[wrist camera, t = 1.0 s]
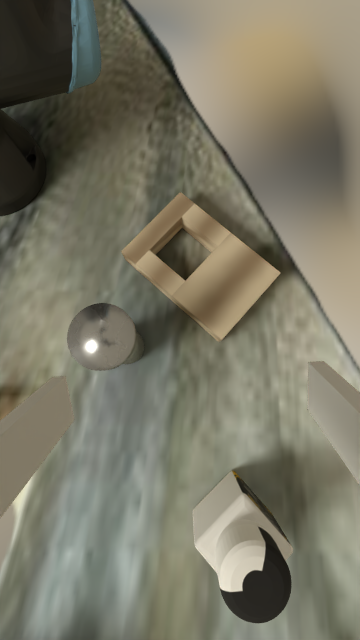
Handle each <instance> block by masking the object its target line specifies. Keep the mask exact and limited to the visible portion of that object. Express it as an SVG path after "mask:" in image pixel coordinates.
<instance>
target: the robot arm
mask: <svg viewBox="0 0 360 640" xmlns="http://www.w3.org/2000/svg"><path fill="white" fill-rule="evenodd" d="M100 71H101V51H100V42H99V35H98V28H97V21H96V15H95V10H94V4H93V0H0V216H3V215H7V214H10V213H13V212H15V211H17V210H19V209H21V208H23V207H24V206H26V205H27V204H28V203H29V202H30V201H31V200H32V199H33V198H34V197H35V196H36V195H37V194H38V192H39V191H40V189H41V187H42V185H43V182H44V179H45V175H46V162H45V158H44V155H43V153H42V151H41V149H40V148H39V146H38V145H37V143H36V141H35V140H34V138H33V137H32V136H31V135H30V134H29V133H28V132H27V131H26V130H25V129H24V128H23V127H22V126H20V125H19V124H18V123H17V122H16V121H14V120H13V119H12V118H11V117H9V116H8V115H7V114H6V113H5V112H3V111H2V110H1V108H5V107H9V106H13V105H17V104H21V103H25V102H29V101H33V100H37V99H41V98H45V97H49V96H53V95H57V94H61V93H65V92H66V93H71V92H73V90H74V89H77V88H80V87H83V86H86V85H89V84H92V83H93V82H95V81H96V79H97V77H98V76H99V74H100ZM307 410H308V411H309V413H310V414H311V416H312V417H313V418H314V420H315V421H316V423H317V424H318V426H319V427H320V429H321V430H322V432H323V433H324V434H325V436H326V437H327V439H328V440H329V442H330V443H331V445H332V446H333V447H334V449H335V450H336V452H337V453H338V455H339V456H340V458H341V459H342V460H343V462H344V463H345V465H346V466H347V468H348V469H349V471H350V472H351V473H352V475H353V476H354V478H355V479H356V481H357V482H358V484H359V485H360V392H359V391H357V390H356V389H355V388H354V387H353V386H352V385H350V384H349V383H348V382H347V381H346V380H345V379H344V378H342V377H341V376H340V375H339V374H338V373H337V372H336V371H334V370H333V369H332V368H331V367H330V366H329V365H327V364H326V363H325V362H324V361H318V362H308V405H307ZM73 421H74V415H73V410H72V405H71V400H70V395H69V390H68V385H67V380H66V376H59V377H52V378H51V379H49V380H48V381H47V382H46V383H45V384H44V385H42V386H41V387H40V388H39V389H38V390H36V391H35V392H34V393H33V394H32V395H30V396H29V397H28V398H27V399H26V400H25V401H23V402H22V403H21V404H20V405H19V406H17V407H16V408H15V409H14V410H13V411H11V412H10V413H9V414H8V415H7V416H5V417H4V418H3V419H2V420H1V421H0V518H1V517H2V515H3V514H4V513H5V512H6V510H7V509H8V508H9V506H10V505H11V504H12V502H13V501H14V500H15V498H16V497H17V496H18V494H19V493H20V492H21V490H22V489H23V488H24V486H25V485H26V484H27V482H28V481H29V480H30V478H31V477H32V476H33V474H34V473H35V472H36V470H37V469H38V468H39V466H40V465H41V464H42V462H43V461H44V460H45V458H46V457H47V456H48V454H49V453H50V452H51V450H52V449H53V448H54V446H55V445H56V444H57V442H58V441H59V440H60V438H61V437H62V436H63V434H64V433H65V432H66V430H67V429H68V428H69V426H70V425H71V424H72V422H73Z"/></svg>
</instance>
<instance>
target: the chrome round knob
mask: <svg viewBox="0 0 360 640" xmlns="http://www.w3.org/2000/svg"><path fill="white" fill-rule="evenodd" d="M67 342H68V347H69V350H70V353H71V355H72V356H73V358H74V359H75V360H76V361H77V362H78V363H79V364H80V365H82V366H84V367H86V368H88V369H91V370H111V369H114V368H117V367H119V366H120V365H122V364H132V363H134V362H136V361H137V360H139V359H140V358H141V356H142V354H143V352H144V341H143V338H142V337H141V335H140V334H139V333H137V331H136V327H135V325H134V322H133V321H132V319H131V318H130V316H129V315H128V314H127V313H126V312H125V311H123V310H122V309H121V308H119V307H117V306H115V305H112V304H107V303H99V304H94V305H91V306H88V307H86V308H84V309H83V310H82V311H80V312H79V313H78V314H77V315H76V316H75V318H74V319H73V320H72V322H71V324H70V327H69V330H68V336H67Z"/></svg>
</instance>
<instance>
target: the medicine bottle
mask: <svg viewBox="0 0 360 640" xmlns="http://www.w3.org/2000/svg"><path fill="white" fill-rule="evenodd" d="M193 525H194V540H195V547H196V548H197V549H198V551H199V552H200V553H201V554H202V556H203V557H204V558H205V559H206V560H207V562H208V563H209V564H210V565H211V567H212V568H213V569H214V570H215V571H216V573H217V574H218V579H219V585H220V590H221V594H222V596H223V599H224V601H225V603H226V605H227V606H228V607H229V609H230V610H231V611H232V612H233V613H234V614H235V615H236V616H238V617H239V618H241V619H243V620H245V621H247V622H252V623H264V622H268V621H270V620H272V619H274V618H275V617H277V616H278V615H279V614H280V613H281V612H282V610H283V609H284V608H285V606H286V604H287V602H288V600H289V597H290V593H291V575H290V571H289V568H288V565H287V563H286V561H285V560H286V559H287V558H288V557H289V556H290V555H291V554H292V552H293V548H292V546H291V544H290V543H289V541H288V539H287V538H286V536H285V535H284V533H283V531H282V530H281V528H280V526H279V525H278V523H277V521H276V520H275V518H274V517H273V515H272V513H271V512H270V511H269V510H268V509H267V508H266V506H265V505H264V504H263V503H262V502H261V501H260V500H259V499H258V497H257V496H256V495H255V494H254V493H253V492H252V491H251V490H250V488H249V487H248V486H247V485H246V484H245V483H244V482H243V480H242V479H241V478H240V477H239V476H238V475H237V474H236V473H235V471H230V472H229V473H228V474H227V475H226V476H225V477H224V478H223V479H222V480H221V481H220V482H219V483H218V484H217V485H216V487H215V488H214V489H213V490H212V491H211V492H210V493H209V494H208V495H207V496H206V497H205V498H204V499H203V500H202V501H201V502H200V503H199V504H198V505H197V506H196V507H195V508H194V509H193Z"/></svg>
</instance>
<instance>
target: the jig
mask: <svg viewBox="0 0 360 640" xmlns="http://www.w3.org/2000/svg"><path fill="white" fill-rule="evenodd" d="M181 228H183V229H184V230H185V231H186V232H188V233H189V234H190V235H191V236H192V237H194V238H195V239H196V240H197V241H198V242H200V243H201V244H202V245H203V246H205V247H206V248H207V249H208V250H209V251H211V252H212V253H211V254H210V255H209V256H208V257H207V258H206V260H205V261H204V262H203V263H202V264H201V265H200V266H199V267H198V268H197V269H196V270H195V271H194V272H193V273H192V274H191V276H190V277H189V278H188V279H187V280H186V281H185V280H184V279H183V278H181V277H180V276H179V275H178V274H177V273H176V272H174V271H173V270H172V269H171V268H170V267H169V266H167V265H166V264H165V263H164V262H163V261H162V260H160V259H159V258H158V257H157V256H156V254H157V253H158V252H159V251H160V250H161V249H162V248H163V247H164V246H165V245H166V244H167V243H168V242H169V241H170V240H171V239H172V237H173V236H174V235H175V234H176V233H177V232H178V231H179V230H180V229H181ZM121 252H122V254H123V256H124V258H125V259H126V261H127V262H129V263H130V264H131V265H132V266H133V267H134V268H135V269H137V270H138V271H139V272H140V273H141V274H142V275H143V276H144V277H146V278H147V279H148V280H149V281H150V282H151V283H152V284H154V285H155V286H156V287H157V288H158V289H159V290H160V291H162V292H163V293H164V294H165V295H166V296H167V297H168V298H169V299H171V300H172V301H173V302H174V303H175V304H176V305H177V306H179V307H180V308H181V309H182V310H183V311H184V312H185V313H187V314H188V315H189V316H190V317H191V318H192V319H193V320H194V321H196V322H197V323H198V324H199V325H200V326H201V327H202V328H204V329H205V330H206V331H207V332H208V333H209V334H210V335H212V336H213V337H214V338H215V339H216V340H217V341H218V342H220V341H221V340H222V339H223V338H224V337H225V336H226V335H227V333H228V332H229V331H230V330H231V329H232V328H233V327H234V326H235V324H236V323H237V322H238V321H239V320H240V319H241V318H242V316H243V315H244V314H245V313H246V312H247V311H248V310H249V308H250V307H251V306H252V305H253V304H254V303H255V302H256V301H257V299H258V298H259V297H260V296H261V295H262V294H263V293H264V291H265V290H266V289H267V288H268V287H269V286H270V285H271V283H272V282H273V281H274V280H275V279H276V278H277V277H278V276H279V274H280V272H279V271H278V270H276V269H275V268H274V267H273V266H272V265H270V264H269V263H268V262H267V261H265V260H264V259H263V258H262V257H260V256H259V255H258V254H257V253H255V252H254V251H253V250H252V249H250V248H249V247H248V246H247V245H245V244H244V243H243V242H242V241H240V240H239V239H238V238H237V237H236V236H234V235H233V234H232V233H231V232H229V231H228V230H227V229H226V228H224V227H223V226H222V225H221V224H219V223H218V222H217V221H216V220H214V219H213V218H212V217H211V216H209V215H208V214H207V213H206V212H205V211H203V210H202V209H201V208H200V207H198V206H197V205H196V204H195V203H193V202H192V201H191V200H190V199H188V198H187V197H186V196H185V195H183V194H182V193H181V192H180V193H179V194H178V195H177V196H176V197H175V198H174V199H173V200H172V201H171V202H170V203H169V204H168V205H167V206H166V207H165V208H164V209H163V210H162V211H161V212H160V213H159V214H158V215H157V216H156V217H155V218H154V219H153V220H152V221H151V222H150V223H149V224H148V225H147V226H146V227H145V228H144V229H143V230H142V231H141V232H140V233H139V234H138V235H137V236H136V237H135V238H134V239H133V240H132V241H131V242H130V243H129V244H128V245H127V246H126V247H125V248H124V249H123V250H122V251H121Z"/></svg>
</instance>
